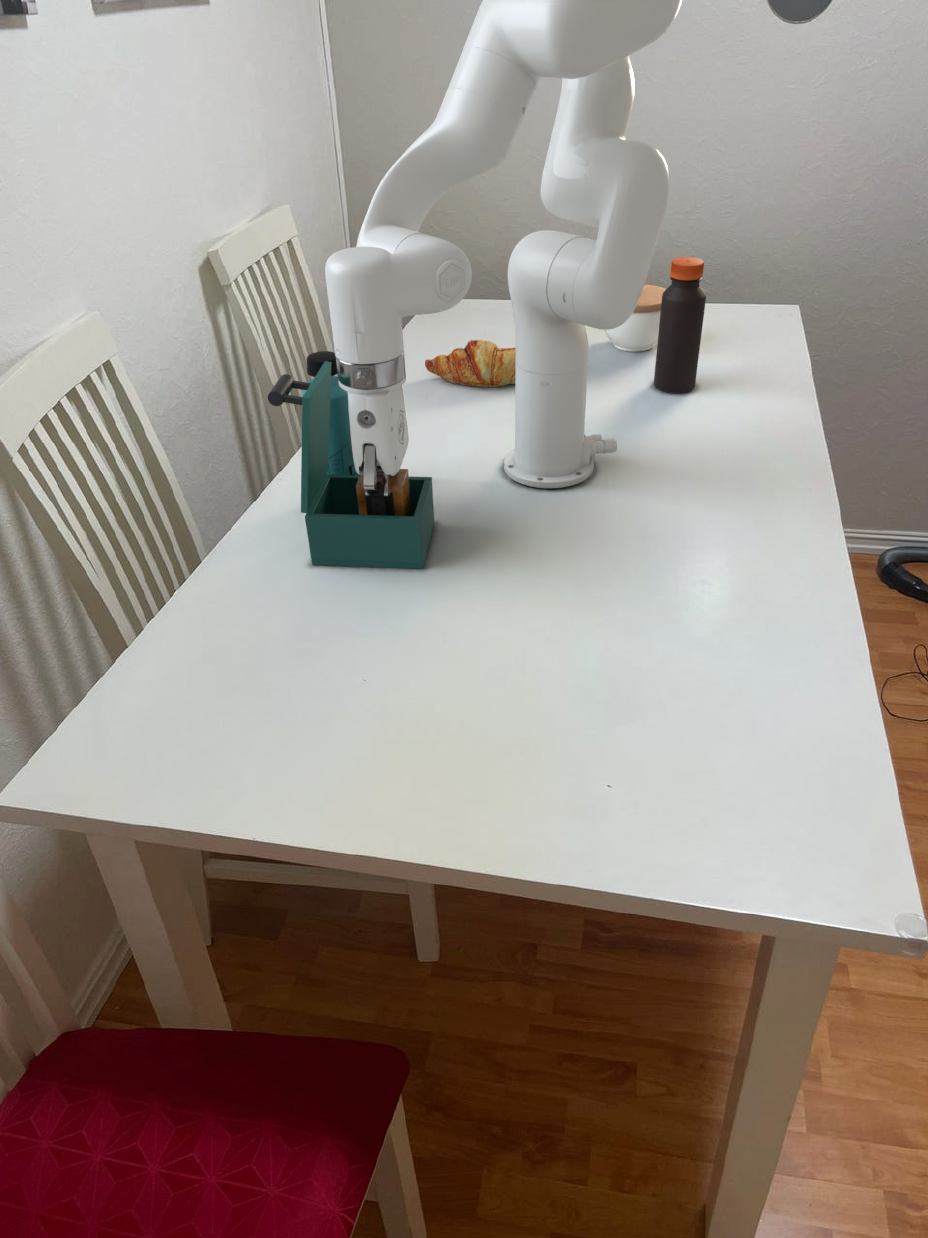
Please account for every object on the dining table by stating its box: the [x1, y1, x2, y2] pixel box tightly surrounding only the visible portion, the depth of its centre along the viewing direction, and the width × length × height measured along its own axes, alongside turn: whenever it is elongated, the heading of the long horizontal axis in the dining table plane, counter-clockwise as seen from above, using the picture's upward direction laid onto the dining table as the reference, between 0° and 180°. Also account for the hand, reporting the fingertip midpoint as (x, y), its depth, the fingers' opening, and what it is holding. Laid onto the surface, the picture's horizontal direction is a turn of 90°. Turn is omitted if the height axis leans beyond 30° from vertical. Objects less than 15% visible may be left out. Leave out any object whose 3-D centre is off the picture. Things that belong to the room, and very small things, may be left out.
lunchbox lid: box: [267, 361, 331, 514], centre depth 107 cm, size 14×11×5 cm
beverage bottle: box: [301, 350, 359, 475], centre depth 118 cm, size 6×7×20 cm
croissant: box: [424, 339, 516, 388], centre depth 155 cm, size 21×10×8 cm, turn 83°
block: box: [356, 468, 411, 516], centre depth 110 cm, size 6×4×5 cm
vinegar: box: [653, 256, 707, 394], centre depth 146 cm, size 7×7×20 cm
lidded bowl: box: [604, 284, 667, 353], centre depth 164 cm, size 13×13×11 cm
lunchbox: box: [304, 474, 435, 570], centre depth 113 cm, size 14×11×7 cm
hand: (385, 510), depth 112 cm, fingers closed on block, 4 cm apart
